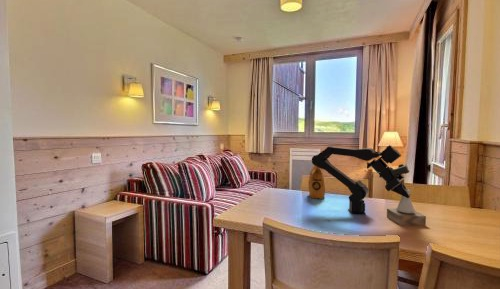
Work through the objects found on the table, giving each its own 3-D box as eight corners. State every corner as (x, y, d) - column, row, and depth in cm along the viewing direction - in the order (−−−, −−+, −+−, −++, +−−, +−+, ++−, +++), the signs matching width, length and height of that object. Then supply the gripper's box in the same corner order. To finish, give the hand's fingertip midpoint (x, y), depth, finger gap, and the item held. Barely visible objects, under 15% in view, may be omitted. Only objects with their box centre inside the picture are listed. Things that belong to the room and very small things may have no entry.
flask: (392, 210, 120) (393, 188, 119) (402, 208, 123) (403, 187, 122) (408, 214, 113) (409, 192, 113) (418, 212, 116) (419, 190, 116)
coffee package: (307, 198, 157) (308, 162, 155) (308, 193, 169) (309, 159, 167) (324, 199, 154) (325, 162, 153) (324, 194, 166) (325, 160, 165)
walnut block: (400, 225, 113) (400, 216, 112) (386, 216, 124) (387, 208, 123) (425, 225, 113) (425, 216, 112) (409, 216, 124) (410, 208, 123)
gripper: (394, 160, 111) (424, 190, 106) (399, 157, 126) (426, 182, 121) (374, 176, 116) (401, 205, 111) (381, 171, 131) (405, 196, 126)
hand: (409, 196), depth 117 cm, fingers closed on flask, 3 cm apart
